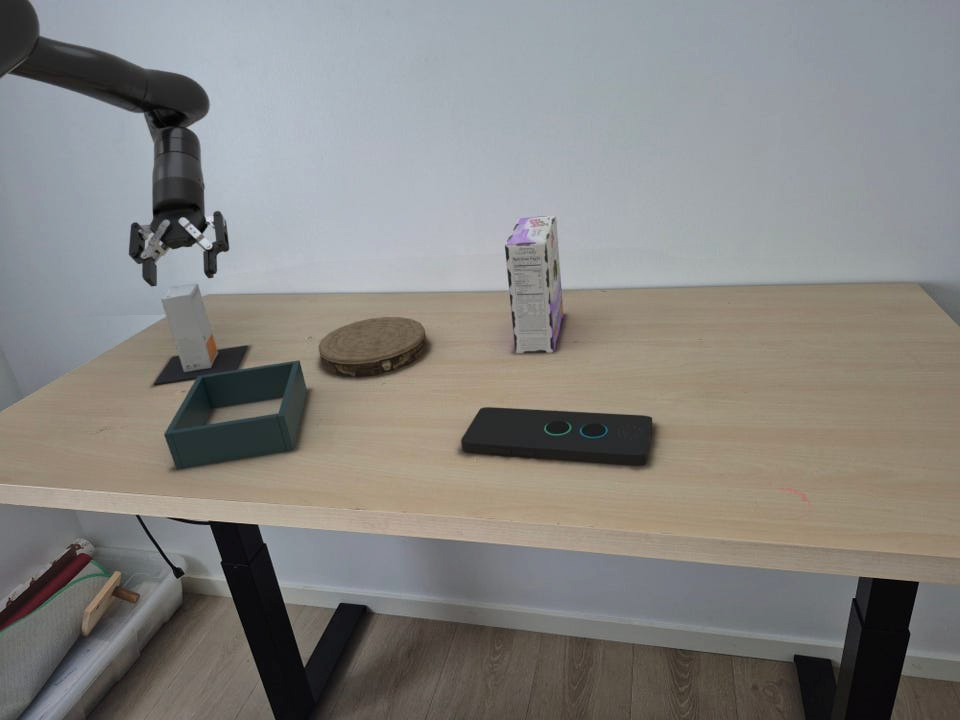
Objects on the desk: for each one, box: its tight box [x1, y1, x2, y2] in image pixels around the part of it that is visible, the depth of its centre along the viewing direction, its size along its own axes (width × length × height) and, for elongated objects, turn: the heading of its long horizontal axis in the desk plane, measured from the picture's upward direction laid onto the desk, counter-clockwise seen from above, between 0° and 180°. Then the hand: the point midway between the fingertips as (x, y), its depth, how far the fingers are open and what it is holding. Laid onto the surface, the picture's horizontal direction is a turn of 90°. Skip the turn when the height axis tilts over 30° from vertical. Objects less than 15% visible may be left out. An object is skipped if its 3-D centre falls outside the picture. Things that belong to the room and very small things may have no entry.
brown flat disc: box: [317, 316, 428, 379], centre depth 104 cm, size 16×16×3 cm
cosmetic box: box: [161, 282, 218, 372], centre depth 106 cm, size 6×4×12 cm
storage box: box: [163, 359, 308, 470], centre depth 87 cm, size 14×16×5 cm
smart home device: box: [460, 406, 653, 467], centre depth 77 cm, size 8×2×20 cm
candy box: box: [504, 215, 564, 354], centre depth 101 cm, size 14×6×16 cm, turn 168°
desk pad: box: [153, 345, 248, 386], centre depth 109 cm, size 12×10×1 cm
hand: (180, 280), depth 105 cm, fingers open, 8 cm apart
